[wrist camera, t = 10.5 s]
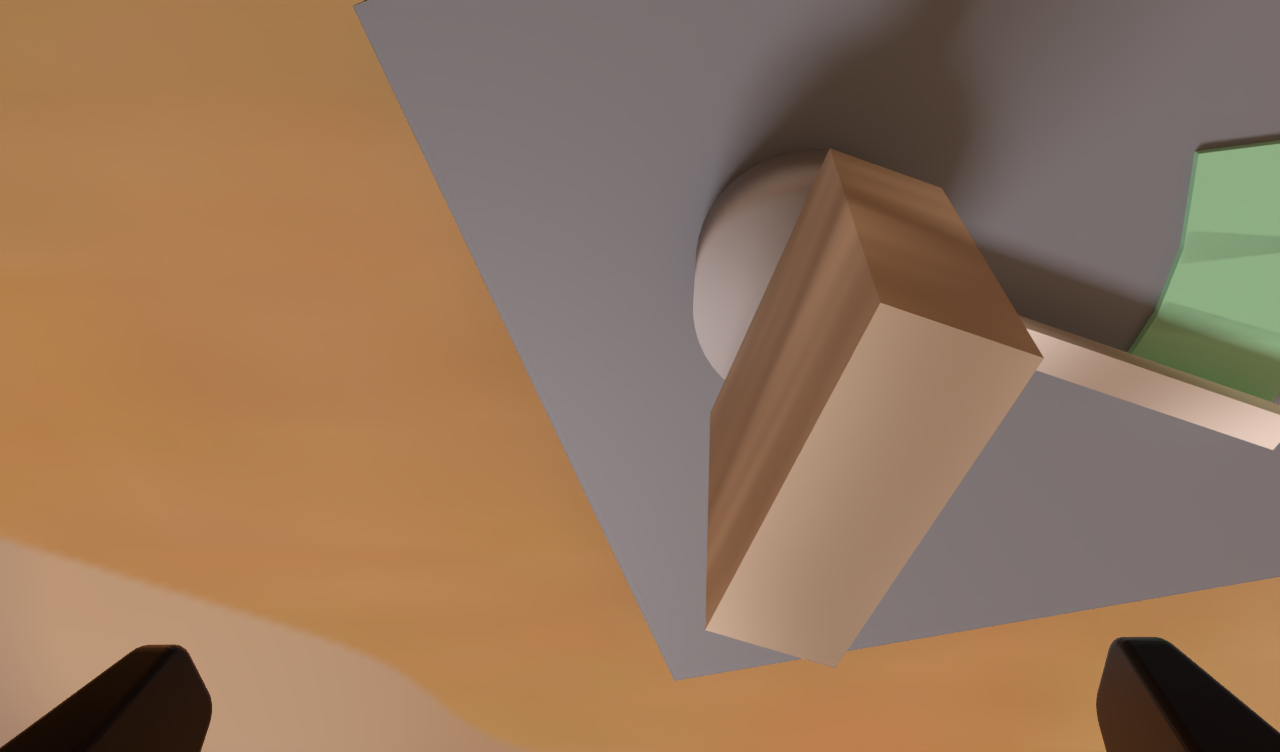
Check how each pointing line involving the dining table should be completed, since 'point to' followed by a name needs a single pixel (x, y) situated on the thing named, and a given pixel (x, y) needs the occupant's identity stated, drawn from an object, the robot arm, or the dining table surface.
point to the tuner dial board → (919, 148)
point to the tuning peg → (867, 389)
